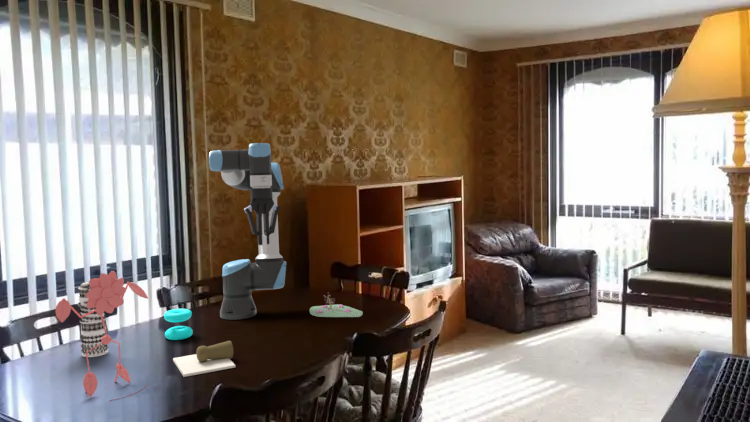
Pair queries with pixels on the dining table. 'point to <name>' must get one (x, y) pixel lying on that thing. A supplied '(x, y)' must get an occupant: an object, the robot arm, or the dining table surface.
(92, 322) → the decorative candle
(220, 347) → the cork
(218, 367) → the felt mat
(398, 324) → the dining table surface
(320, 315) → the plant
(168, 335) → the donuts
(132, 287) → the figurine
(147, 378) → the dining table surface
